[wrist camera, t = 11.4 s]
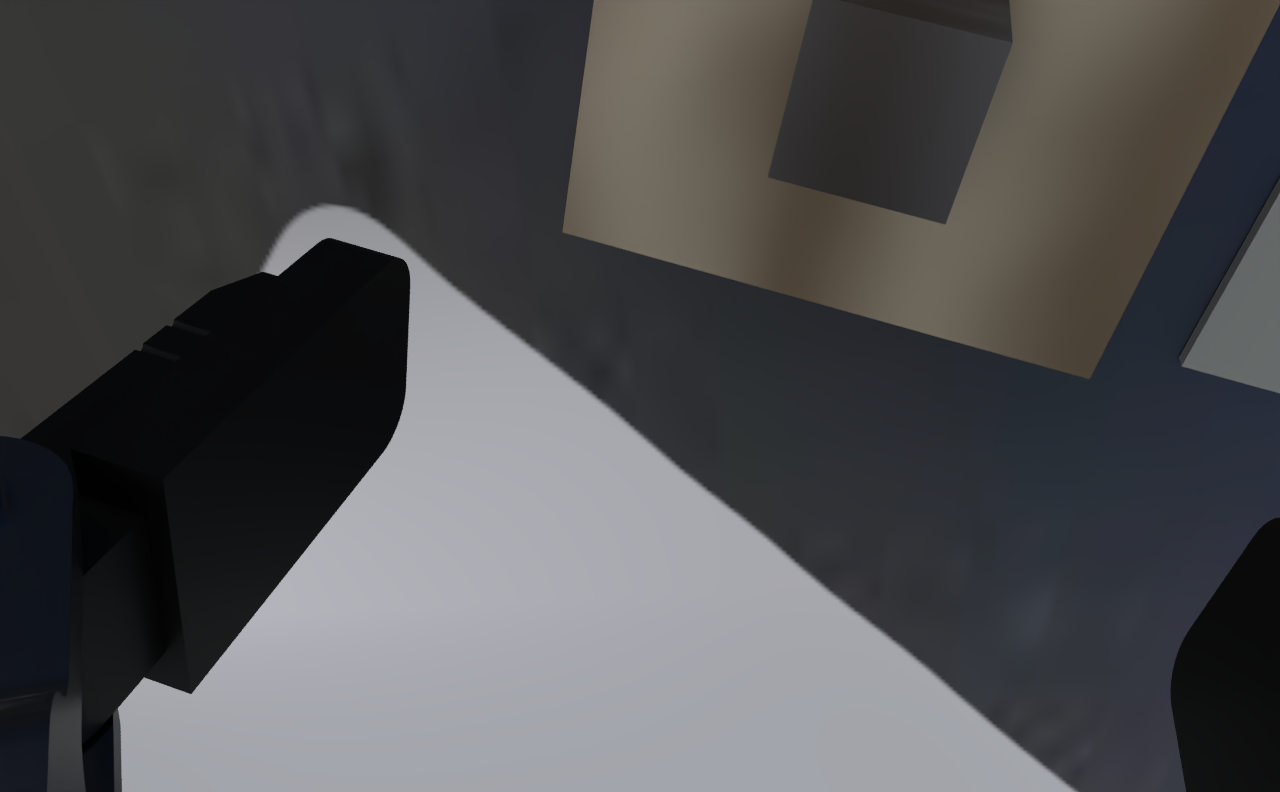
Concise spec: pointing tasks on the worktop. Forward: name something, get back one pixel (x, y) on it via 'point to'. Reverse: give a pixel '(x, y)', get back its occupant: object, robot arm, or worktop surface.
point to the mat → (1245, 311)
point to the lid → (909, 151)
